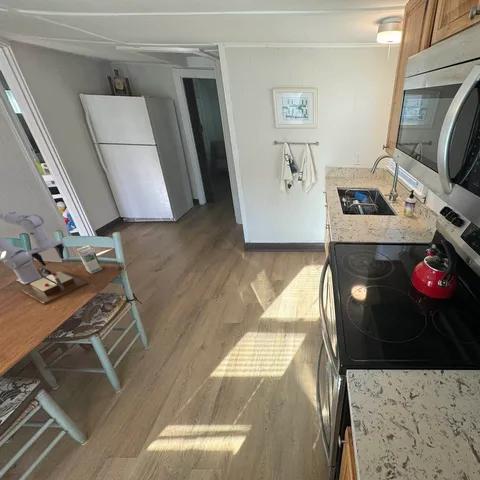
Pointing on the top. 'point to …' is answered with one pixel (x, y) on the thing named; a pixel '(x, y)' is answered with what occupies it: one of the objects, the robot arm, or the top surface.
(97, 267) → the syrup box
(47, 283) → the cake
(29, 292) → the cutting board
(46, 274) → the cleaver knife
